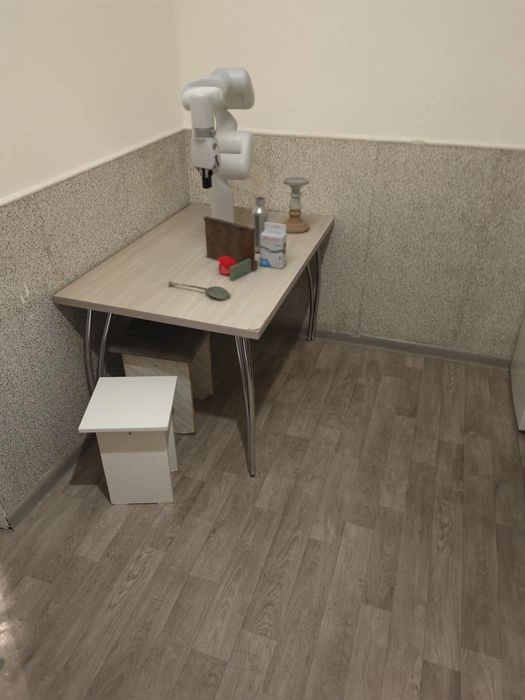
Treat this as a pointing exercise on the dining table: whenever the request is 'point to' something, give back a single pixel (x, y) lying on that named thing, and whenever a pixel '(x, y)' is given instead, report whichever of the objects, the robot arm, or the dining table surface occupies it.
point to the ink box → (273, 245)
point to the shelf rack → (231, 244)
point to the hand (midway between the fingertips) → (207, 187)
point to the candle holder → (295, 205)
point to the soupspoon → (209, 290)
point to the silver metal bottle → (259, 219)
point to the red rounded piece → (226, 264)
